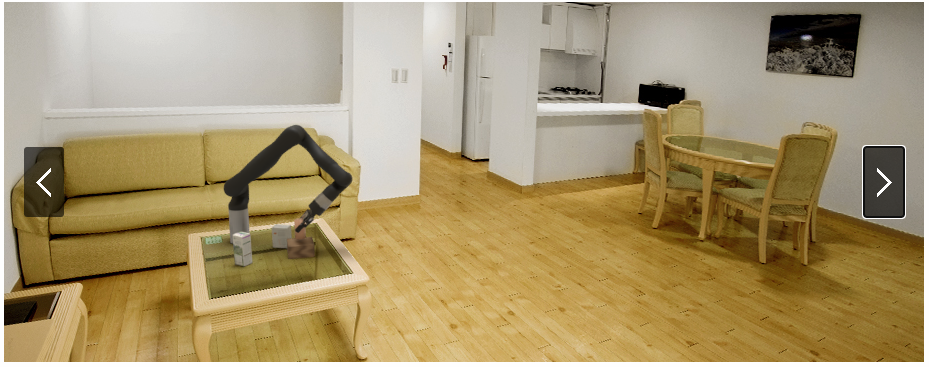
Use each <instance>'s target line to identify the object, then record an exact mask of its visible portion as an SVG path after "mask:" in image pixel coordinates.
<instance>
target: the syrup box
mask: <svg viewBox="0 0 929 367" xmlns="http://www.w3.org/2000/svg"><path fill="white" fill-rule="evenodd" d="M251 239H252V238H251V233H245V232H238V233H236V234H234V235H233V243H232V244H233V247H232V248H233V258H234V265H235V266H241V267H246V266H248V265H252V263H253V254H252V253H253V251H252V240H251Z"/></svg>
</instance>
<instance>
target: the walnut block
mask: <svg viewBox="0 0 929 367" xmlns="http://www.w3.org/2000/svg"><path fill="white" fill-rule="evenodd" d="M286 250H287V258H288V260H289V259H290V260H291V259H292V260H293V259H301V258H302V259H303V258H304V259H305V258H313V257H315V256H316V254H315V243H314V240H313V237H312V236H306V238H305V239H295V237H292V238H290V239H287V248H286Z"/></svg>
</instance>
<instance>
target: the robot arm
mask: <svg viewBox="0 0 929 367" xmlns="http://www.w3.org/2000/svg"><path fill="white" fill-rule="evenodd" d="M298 145H299V146H300V147H302V148H304V150H306V151H307V152H308V154H309V156H311V158H312V160H313V161H314V162H315V164H316V165H317V166H318V167H319V169H321V170H322V171H323V172H325V173H326V174H327V175H329V177H331V178H332V179H333V181H332V182H331V183H330V184H328V185H327V186H326V187H325V188H323V190H322V191H321V192H320V193H319V194H317V196H316V197H315V198H314V199H313V200H312V201H311V202H310V203H309V204H308V208H307V209H306V210H305V211H304V212H303V213H302V215H301V216H300V217H299V218H303V221H302V222H301V223H300V225H299V226H298V227H297V228H296V229H295V225H293V226H294V232H295V231H296V232H297V233H299V232H300V231H301V230H302V229H303V228H304V227H305V228H306V229H307V227H308V226H309V225H311V223H313V221H314V220H315V219H314V218H315V216H316V215H317V216H319V217H321V216H322V215H323V214H324V213H325V212H326V210H328V208H329V207H330V206H331V205H332V203H333V202H334V201H335V200H337V198H338V197H339V196H340V195H341V194H342V193H343V192H344V191H345V190H346V189H347V188H348V187H350V185H351V184H352V182H353V176H352V174H351V173H350V172H348V171H346V170H345V169H344V168H343V167H341V166H340V165H339V163H338V162H337V161H336V160H335V159H333V158H332V157H331V156H330V154H328V153H327V152H326V151H324V150H323V148H322V147H321V146H320V145H319V144H318V143H317V142H316V141H315V140H314V139H313V138H312V136H311V135H310V134H309V132H308V131H306V129H305V128H304V127H303V126H302V125H299V124H293V125H290V126H288V127H286V128H285V129H284V130H282V132H281V133H280V134H279V135H278V136H277V137H276V139H275V140H273V142H272V143H271V144H268V145H267V146H266V147H265V148H263V150H261V151H259V152H258V153H257V154H256V155H255V156H254V157H253V158H252V159H251V160H250V161H249V162H248V163H247V164H245V166H244V167H242V169H241V170H240V171H238V172H237V173H236V174H235V175H233V176H232V177H230V178H229V179H227V180H226V181H225V183H224V184H223V192H224V195H226V196H228V197H231V199H230V201H229V202H228V204H227V206H228V207H227V209H228V219H229V224H228V228H229V237H230V238H229V239H230V244H233V235H234V234H236V233H238V232H245V233H250V232H251V231H250V218H249V202H250V185H249V184H250V183H252V182H254V181H255V180H257V179H259V178H260V177H262V176H263V175H265V174H266V173H267V172H269V171H270V170H271V169H272V168H273V167H275V165H276V164H277V163H278V162H279V160H281V157H282V156H283V155H284V154H286V152H288V151H289V150H291V149H292V148H294V147H295V146H298ZM304 223H305V224H304ZM250 234H251V233H250Z"/></svg>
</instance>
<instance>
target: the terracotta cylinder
mask: <svg viewBox="0 0 929 367" xmlns="http://www.w3.org/2000/svg"><path fill="white" fill-rule="evenodd" d="M293 221H294V225H293V226H295V227H294V238H295V239H305V238H306V237H307V235H306V234H307V233H306V232H307V231H306V230H307V227H306V228H305V227H304V228H303V229H302V230H301V231H300V232H299V233H297V232H296V231H295V229H296V228H297V227H298V226H299V225H300V223H301V222H302V221H303V218H300V217H299V218H294V220H293ZM304 224H306V223H304Z"/></svg>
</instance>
